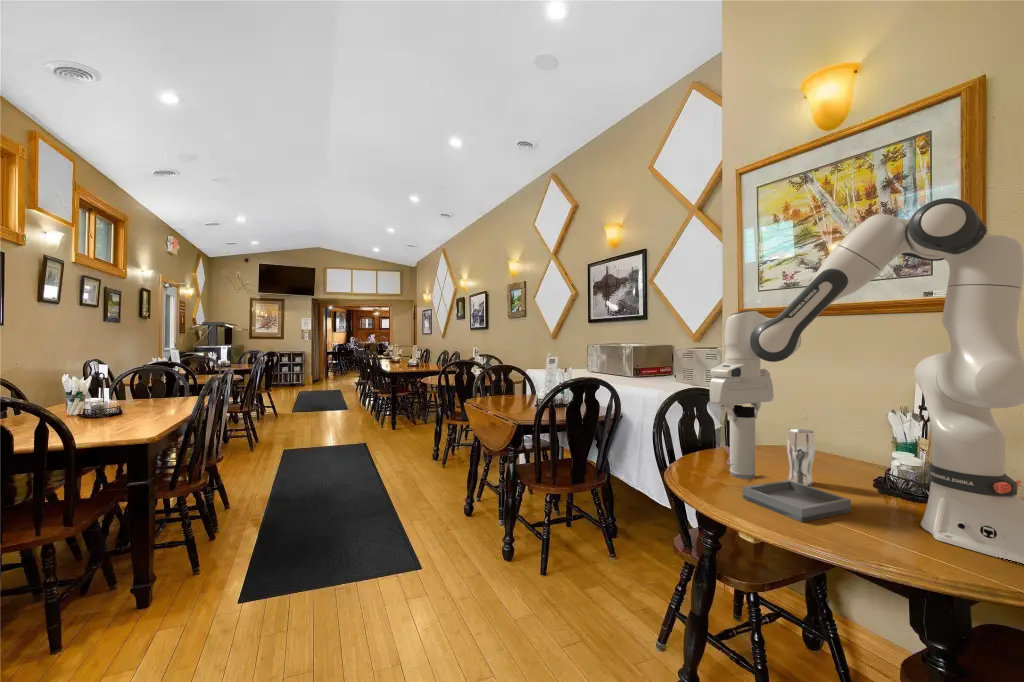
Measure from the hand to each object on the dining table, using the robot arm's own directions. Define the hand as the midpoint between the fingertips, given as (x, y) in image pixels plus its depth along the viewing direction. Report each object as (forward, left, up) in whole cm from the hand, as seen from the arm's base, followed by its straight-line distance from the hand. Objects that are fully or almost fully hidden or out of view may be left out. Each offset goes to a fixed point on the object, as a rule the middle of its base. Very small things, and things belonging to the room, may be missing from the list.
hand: (742, 419), depth 126 cm
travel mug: (0, 0, -16) cm, 16 cm away
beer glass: (-2, -21, -20) cm, 29 cm away
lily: (+10, -9, -20) cm, 24 cm away
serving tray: (-14, -2, -19) cm, 24 cm away
